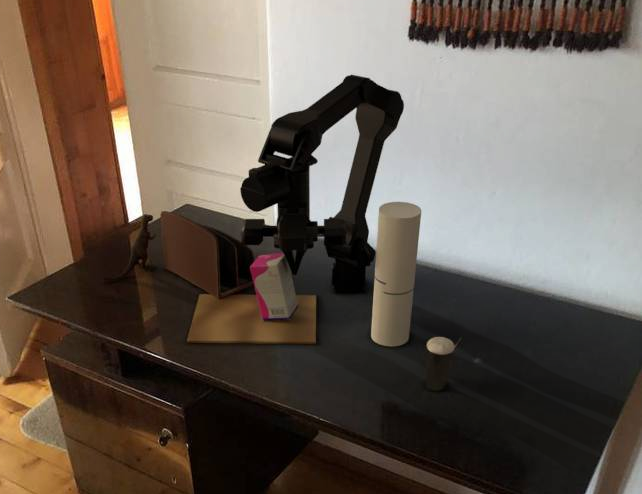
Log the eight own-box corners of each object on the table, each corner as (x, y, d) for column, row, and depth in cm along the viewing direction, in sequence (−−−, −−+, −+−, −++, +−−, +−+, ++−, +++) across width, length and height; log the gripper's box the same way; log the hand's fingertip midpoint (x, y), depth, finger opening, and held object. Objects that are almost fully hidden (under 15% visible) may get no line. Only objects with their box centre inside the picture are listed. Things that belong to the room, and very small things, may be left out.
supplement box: (299, 306, 145) (287, 252, 138) (289, 320, 140) (277, 265, 134) (272, 306, 147) (259, 253, 140) (262, 321, 142) (248, 266, 136)
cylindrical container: (387, 322, 143) (397, 198, 128) (416, 336, 139) (430, 209, 124) (363, 336, 139) (370, 209, 124) (392, 350, 135) (403, 221, 120)
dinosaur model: (155, 212, 156) (99, 239, 147) (166, 262, 163) (112, 290, 154) (143, 208, 158) (87, 234, 149) (154, 258, 165) (101, 285, 156)
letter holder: (219, 300, 149) (214, 234, 141) (164, 269, 161) (156, 206, 152) (257, 285, 154) (254, 220, 146) (201, 256, 166) (195, 195, 158)
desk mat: (316, 297, 151) (316, 295, 151) (315, 344, 136) (315, 341, 136) (199, 296, 151) (199, 294, 151) (187, 342, 137) (186, 340, 136)
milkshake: (453, 395, 124) (460, 345, 118) (421, 391, 124) (427, 341, 118) (454, 380, 127) (461, 330, 121) (423, 376, 128) (428, 327, 122)
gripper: (236, 212, 123) (241, 295, 132) (348, 212, 122) (345, 295, 132) (241, 187, 131) (246, 266, 141) (345, 187, 131) (343, 266, 141)
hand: (294, 274), depth 138 cm, fingers closed
